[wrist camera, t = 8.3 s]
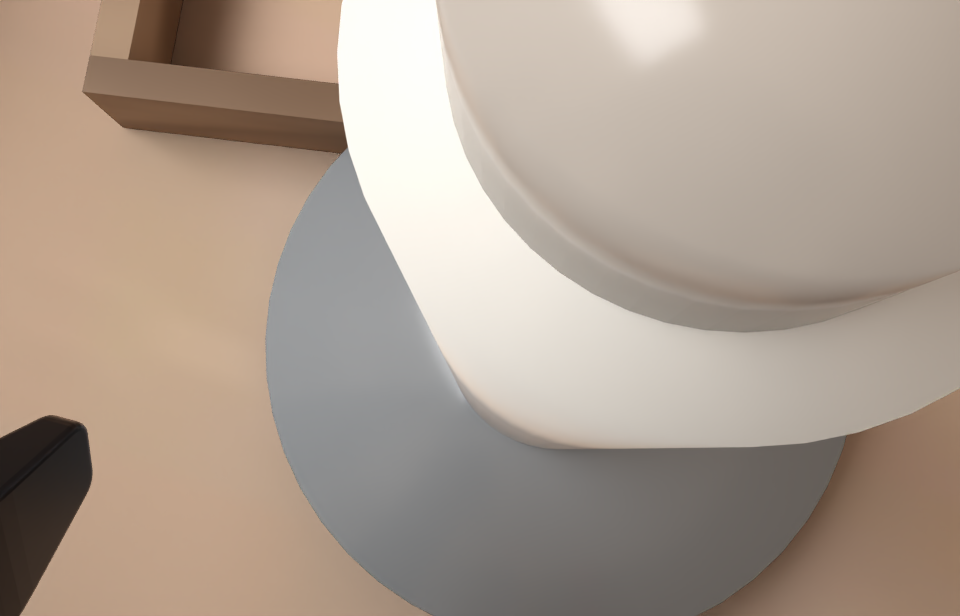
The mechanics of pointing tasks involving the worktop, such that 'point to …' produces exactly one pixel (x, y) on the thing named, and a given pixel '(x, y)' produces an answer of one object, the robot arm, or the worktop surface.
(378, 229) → the plate
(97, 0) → the worktop surface
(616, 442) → the salt mill
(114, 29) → the holder
